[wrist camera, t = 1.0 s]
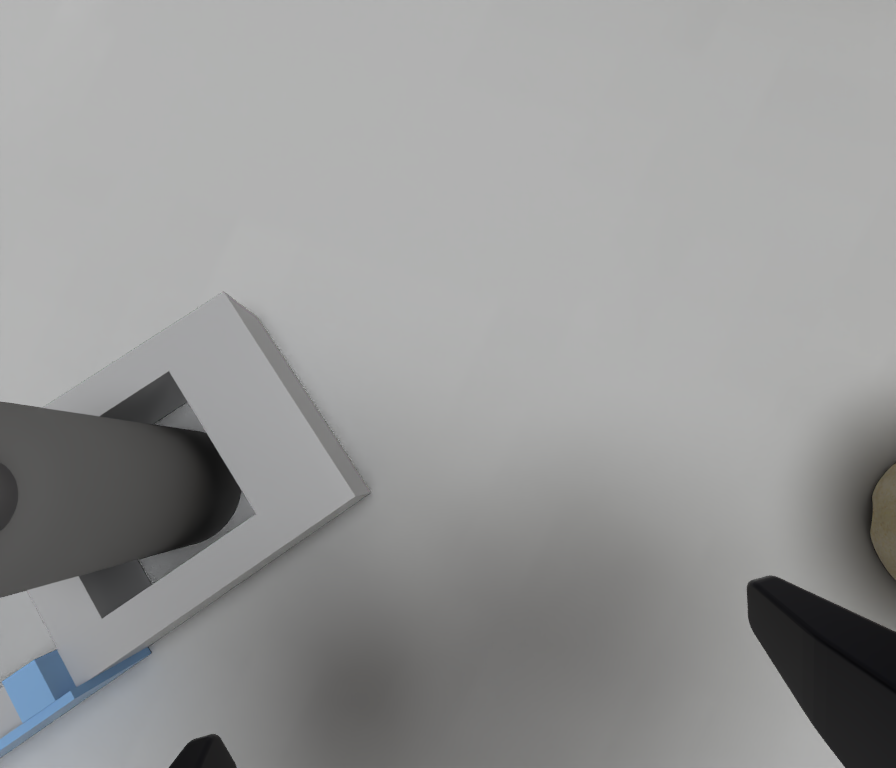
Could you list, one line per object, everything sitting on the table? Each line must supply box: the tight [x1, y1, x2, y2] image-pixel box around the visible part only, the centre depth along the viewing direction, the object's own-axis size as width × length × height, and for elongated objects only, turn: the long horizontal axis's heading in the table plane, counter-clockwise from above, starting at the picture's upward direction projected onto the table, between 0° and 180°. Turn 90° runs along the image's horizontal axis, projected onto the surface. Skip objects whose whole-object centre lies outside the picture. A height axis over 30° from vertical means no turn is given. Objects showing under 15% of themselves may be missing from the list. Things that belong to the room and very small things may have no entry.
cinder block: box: [0, 291, 371, 758], centre depth 20 cm, size 10×21×4 cm, turn 125°
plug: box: [0, 402, 241, 598], centre depth 16 cm, size 5×5×14 cm
